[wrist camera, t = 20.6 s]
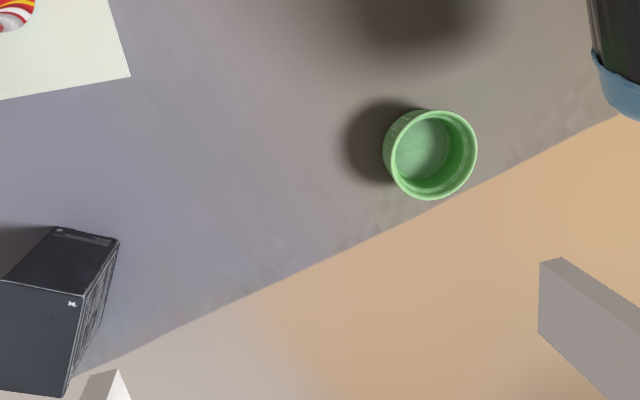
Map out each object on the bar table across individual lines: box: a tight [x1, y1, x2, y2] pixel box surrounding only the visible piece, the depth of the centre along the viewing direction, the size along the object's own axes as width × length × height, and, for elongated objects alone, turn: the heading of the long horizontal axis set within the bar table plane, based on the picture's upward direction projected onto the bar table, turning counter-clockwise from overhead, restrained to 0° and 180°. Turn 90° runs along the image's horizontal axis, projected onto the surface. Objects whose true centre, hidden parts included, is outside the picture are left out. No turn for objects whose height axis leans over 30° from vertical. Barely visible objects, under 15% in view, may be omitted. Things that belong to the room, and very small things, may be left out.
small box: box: [0, 227, 120, 398], centre depth 39 cm, size 11×6×10 cm, turn 160°
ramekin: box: [382, 109, 477, 200], centre depth 44 cm, size 9×9×4 cm
